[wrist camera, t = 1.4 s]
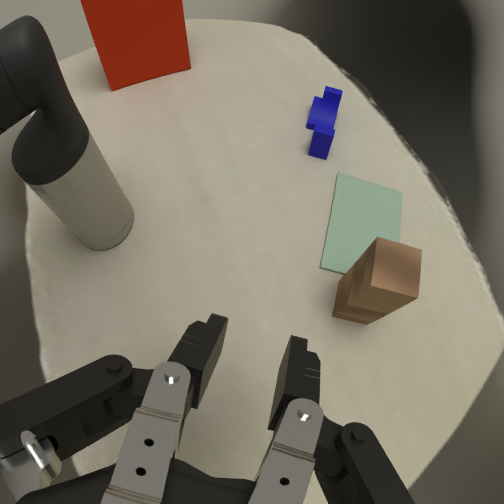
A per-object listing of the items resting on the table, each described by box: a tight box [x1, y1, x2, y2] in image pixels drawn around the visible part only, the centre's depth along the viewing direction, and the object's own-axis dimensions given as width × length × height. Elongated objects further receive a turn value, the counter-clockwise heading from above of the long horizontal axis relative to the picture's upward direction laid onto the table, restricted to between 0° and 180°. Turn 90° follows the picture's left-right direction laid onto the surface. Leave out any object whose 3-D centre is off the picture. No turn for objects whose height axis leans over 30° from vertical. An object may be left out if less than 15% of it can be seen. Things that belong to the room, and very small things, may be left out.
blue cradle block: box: [306, 86, 342, 160], centre depth 49 cm, size 12×4×6 cm, turn 163°
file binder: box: [81, 0, 191, 91], centre depth 44 cm, size 8×17×32 cm, turn 108°
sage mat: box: [320, 173, 402, 275], centre depth 45 cm, size 16×11×1 cm
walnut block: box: [332, 236, 422, 325], centre depth 34 cm, size 5×5×14 cm
